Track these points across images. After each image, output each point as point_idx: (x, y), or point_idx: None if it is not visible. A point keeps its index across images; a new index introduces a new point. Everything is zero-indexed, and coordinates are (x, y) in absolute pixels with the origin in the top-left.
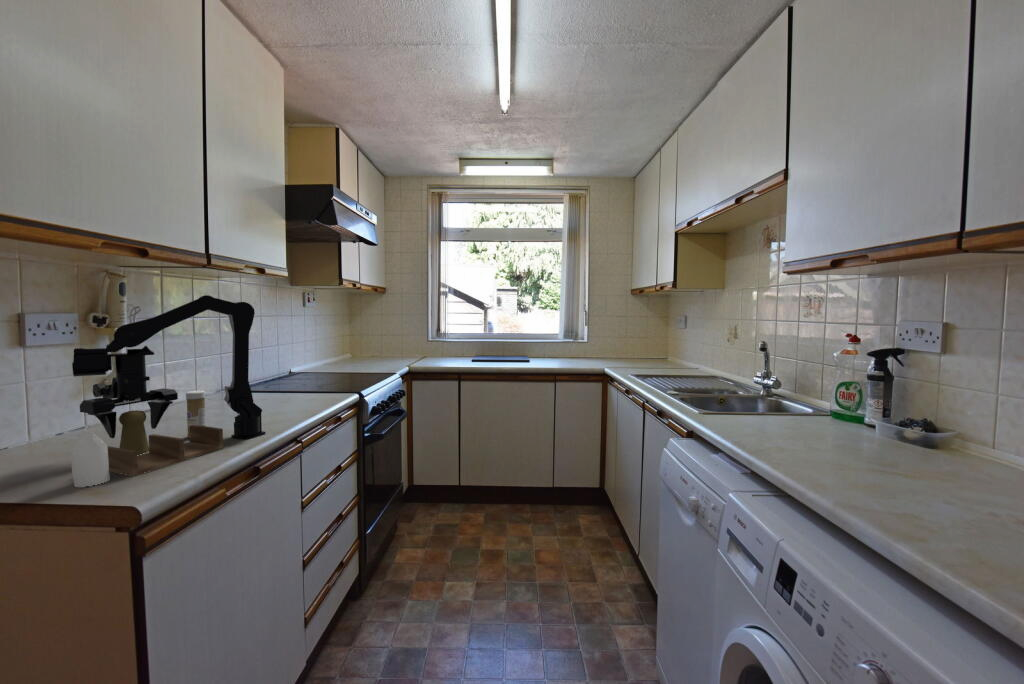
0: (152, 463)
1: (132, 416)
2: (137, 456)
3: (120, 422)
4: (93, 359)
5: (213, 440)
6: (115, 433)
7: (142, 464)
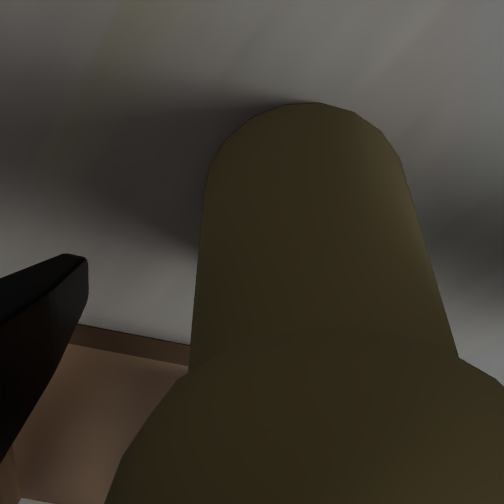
0: (107, 489)
1: None
2: None
3: (137, 436)
4: None
5: None
6: (62, 355)
7: (79, 468)
